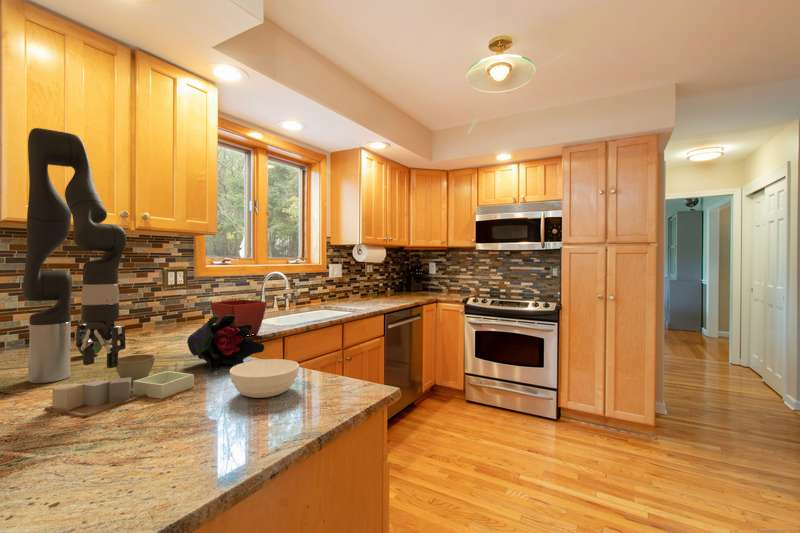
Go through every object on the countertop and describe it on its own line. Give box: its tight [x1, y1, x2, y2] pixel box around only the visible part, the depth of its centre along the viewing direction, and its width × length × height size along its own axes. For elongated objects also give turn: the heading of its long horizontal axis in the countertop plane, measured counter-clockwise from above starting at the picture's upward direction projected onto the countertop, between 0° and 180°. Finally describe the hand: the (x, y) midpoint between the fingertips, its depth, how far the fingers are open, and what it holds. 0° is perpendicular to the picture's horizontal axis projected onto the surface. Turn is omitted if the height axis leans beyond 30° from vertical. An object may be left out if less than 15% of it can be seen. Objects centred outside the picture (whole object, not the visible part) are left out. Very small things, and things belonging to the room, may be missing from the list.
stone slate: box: [82, 379, 112, 406], centre depth 95 cm, size 4×4×5 cm
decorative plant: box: [186, 314, 265, 372], centre depth 130 cm, size 21×26×30 cm
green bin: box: [132, 370, 195, 400], centre depth 105 cm, size 10×10×4 cm
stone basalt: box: [109, 377, 132, 403], centre depth 97 cm, size 4×4×5 cm
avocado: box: [77, 338, 103, 356], centre depth 144 cm, size 8×8×12 cm
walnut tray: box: [44, 389, 148, 419], centre depth 95 cm, size 14×16×1 cm
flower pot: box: [115, 353, 156, 384], centre depth 114 cm, size 10×10×7 cm
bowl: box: [229, 358, 300, 399], centre depth 105 cm, size 18×18×7 cm
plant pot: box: [210, 299, 267, 335], centre depth 186 cm, size 19×19×17 cm
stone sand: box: [51, 383, 83, 410], centre depth 92 cm, size 4×4×5 cm
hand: (100, 366), depth 95 cm, fingers open, 8 cm apart
